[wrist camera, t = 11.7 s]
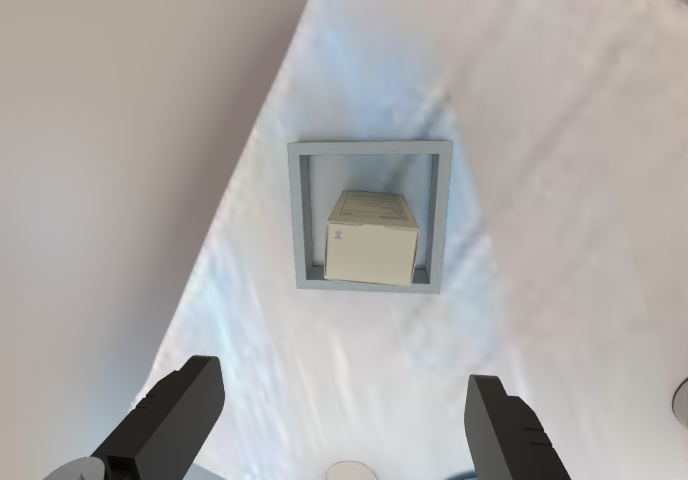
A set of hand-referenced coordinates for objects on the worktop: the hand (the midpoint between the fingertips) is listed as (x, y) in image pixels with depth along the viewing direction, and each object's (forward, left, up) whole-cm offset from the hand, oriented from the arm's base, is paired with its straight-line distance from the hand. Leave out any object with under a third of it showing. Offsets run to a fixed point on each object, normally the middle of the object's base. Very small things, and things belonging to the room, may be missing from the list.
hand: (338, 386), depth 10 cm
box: (0, 0, -24) cm, 24 cm away
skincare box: (0, 0, -24) cm, 24 cm away
